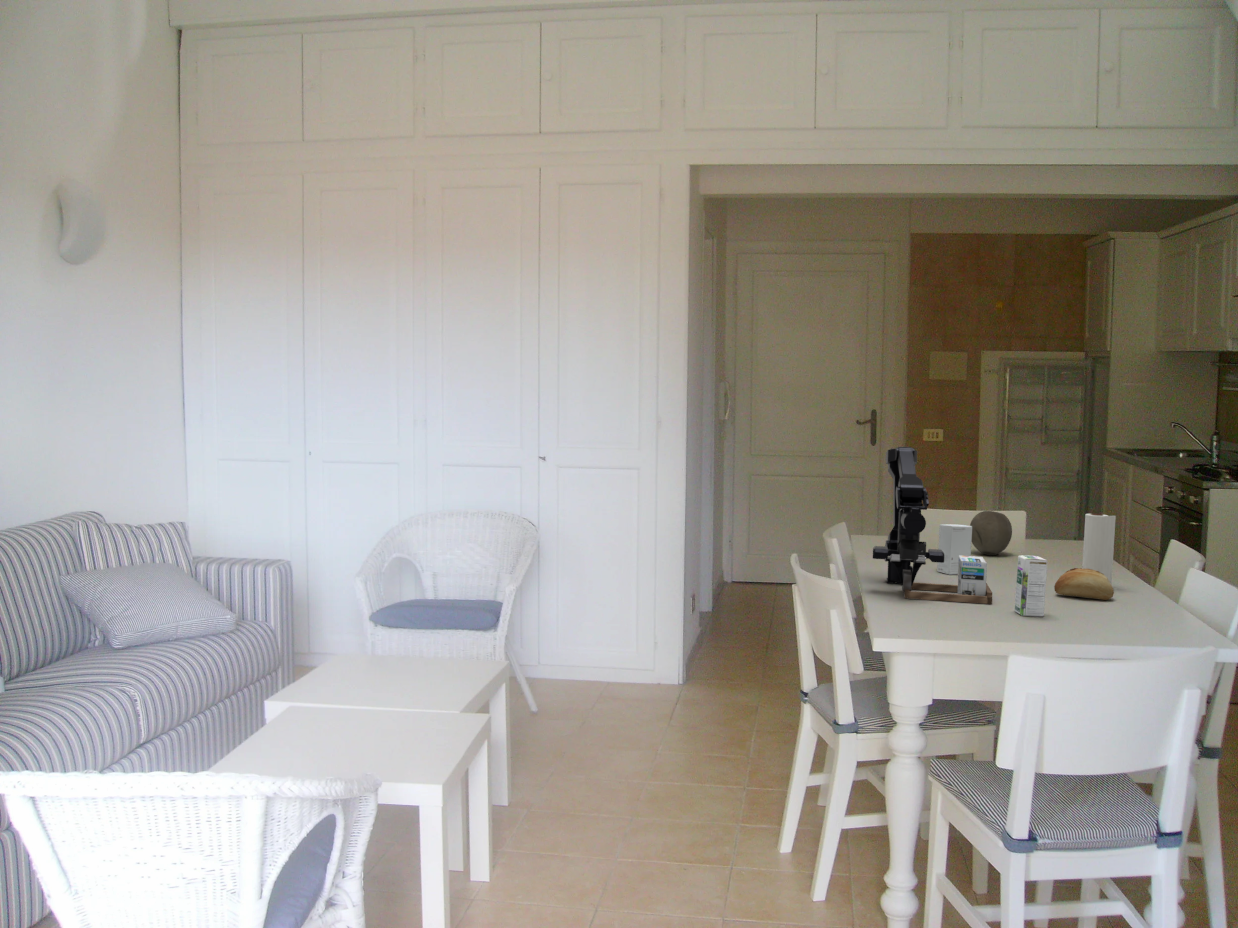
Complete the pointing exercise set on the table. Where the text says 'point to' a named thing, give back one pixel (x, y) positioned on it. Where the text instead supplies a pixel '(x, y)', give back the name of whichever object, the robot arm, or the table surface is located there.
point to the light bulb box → (972, 575)
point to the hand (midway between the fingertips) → (906, 585)
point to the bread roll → (1084, 584)
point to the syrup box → (1030, 585)
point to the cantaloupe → (991, 532)
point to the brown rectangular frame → (940, 587)
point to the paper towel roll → (1099, 543)
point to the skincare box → (953, 546)
